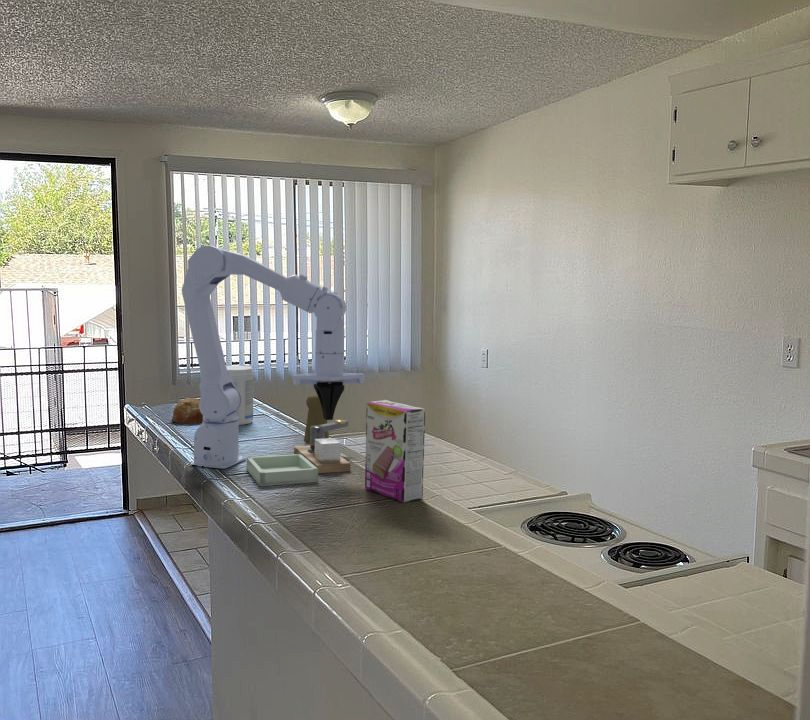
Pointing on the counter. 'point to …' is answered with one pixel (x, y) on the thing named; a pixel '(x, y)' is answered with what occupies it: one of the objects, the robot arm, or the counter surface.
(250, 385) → the supplement tub
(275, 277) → the robot arm
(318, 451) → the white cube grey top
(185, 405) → the bread roll
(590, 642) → the counter surface
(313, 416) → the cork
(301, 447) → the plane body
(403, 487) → the candy bar box
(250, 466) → the tray
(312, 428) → the lever
